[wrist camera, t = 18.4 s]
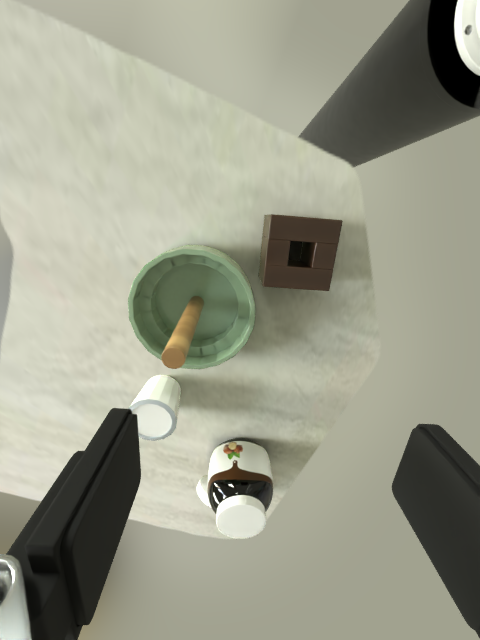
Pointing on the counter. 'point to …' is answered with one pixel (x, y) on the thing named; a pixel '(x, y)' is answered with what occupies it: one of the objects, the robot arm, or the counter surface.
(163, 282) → the bowl
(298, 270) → the stick holder
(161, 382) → the white cup
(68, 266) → the counter surface
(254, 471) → the spread jar
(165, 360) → the stirring stick
